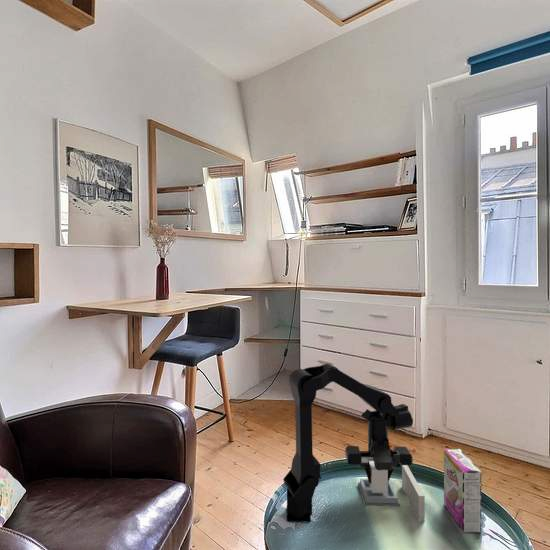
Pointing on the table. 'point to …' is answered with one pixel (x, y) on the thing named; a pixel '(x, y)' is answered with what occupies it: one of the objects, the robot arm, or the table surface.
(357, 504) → the table surface
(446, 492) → the candy bar box
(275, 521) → the table surface
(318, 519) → the table surface
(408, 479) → the wall stub
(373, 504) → the frame
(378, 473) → the block
